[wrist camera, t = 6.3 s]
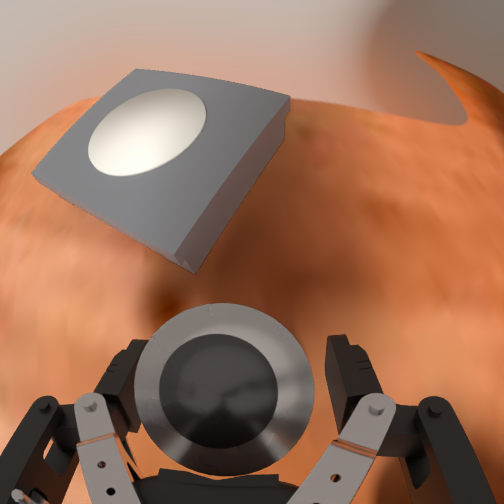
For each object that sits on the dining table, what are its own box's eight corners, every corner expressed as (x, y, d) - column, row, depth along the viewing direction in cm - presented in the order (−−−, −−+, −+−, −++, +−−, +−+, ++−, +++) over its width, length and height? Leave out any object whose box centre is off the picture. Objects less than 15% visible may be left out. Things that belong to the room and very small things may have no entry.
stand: (289, 136, 23) (290, 92, 19) (193, 282, 19) (171, 252, 15) (147, 99, 28) (134, 66, 23) (55, 200, 23) (28, 171, 19)
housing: (325, 362, 16) (381, 336, 8) (270, 460, 14) (266, 536, 5) (225, 312, 18) (178, 239, 9) (170, 405, 16) (74, 415, 7)
